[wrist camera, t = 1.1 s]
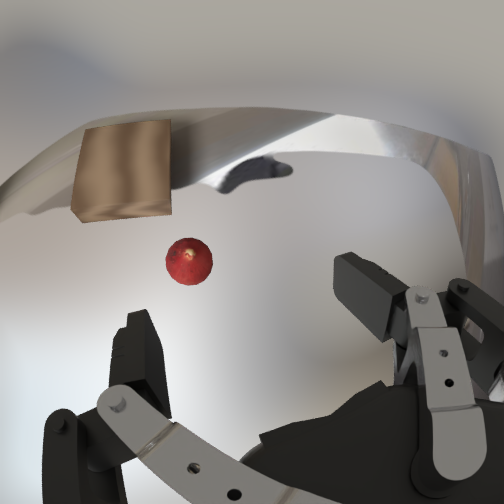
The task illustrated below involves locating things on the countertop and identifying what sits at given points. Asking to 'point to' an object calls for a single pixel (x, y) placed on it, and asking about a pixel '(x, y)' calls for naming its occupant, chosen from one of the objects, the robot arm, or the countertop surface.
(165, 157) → the walnut base
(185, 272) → the onion
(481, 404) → the robot arm
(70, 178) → the countertop surface
